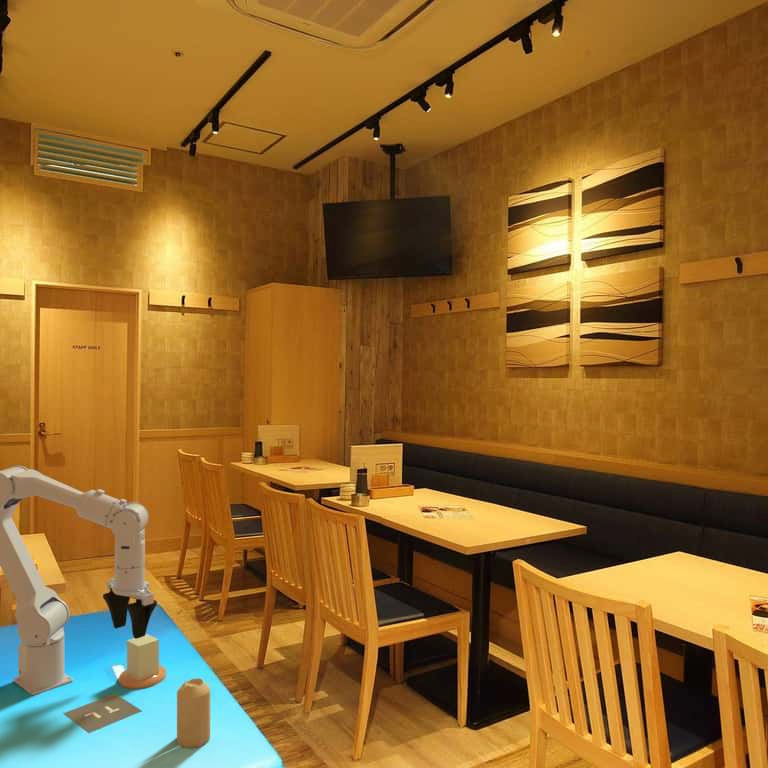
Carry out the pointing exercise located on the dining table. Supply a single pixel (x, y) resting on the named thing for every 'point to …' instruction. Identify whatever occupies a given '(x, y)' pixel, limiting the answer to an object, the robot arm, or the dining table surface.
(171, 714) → the dining table surface
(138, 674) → the block
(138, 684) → the orange disc
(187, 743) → the candle
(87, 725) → the brown tile
